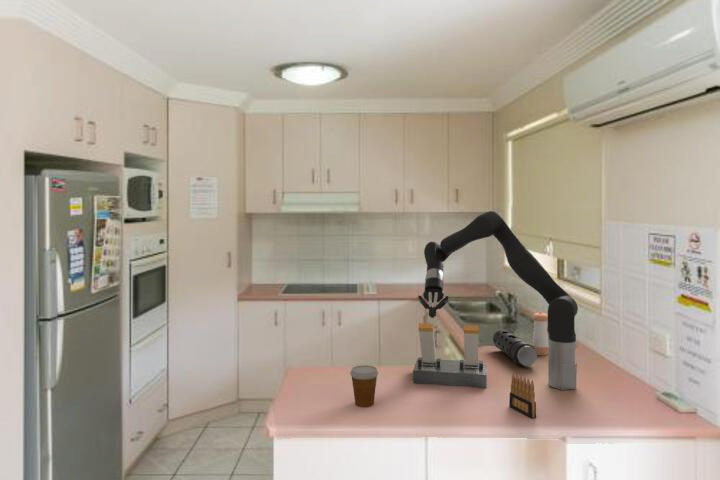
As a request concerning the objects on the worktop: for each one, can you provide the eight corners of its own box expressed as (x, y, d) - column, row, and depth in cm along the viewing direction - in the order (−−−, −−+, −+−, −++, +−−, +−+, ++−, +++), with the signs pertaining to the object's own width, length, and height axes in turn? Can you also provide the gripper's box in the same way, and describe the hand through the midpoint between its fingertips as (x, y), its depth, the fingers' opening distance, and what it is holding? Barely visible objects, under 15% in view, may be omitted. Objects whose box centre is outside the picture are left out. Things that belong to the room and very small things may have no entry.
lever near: (464, 363, 199) (463, 325, 183) (478, 363, 198) (478, 325, 182) (464, 367, 197) (463, 330, 181) (478, 368, 196) (478, 330, 180)
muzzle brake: (511, 350, 238) (512, 328, 237) (538, 369, 210) (539, 344, 210) (491, 351, 237) (492, 329, 236) (516, 370, 209) (516, 345, 209)
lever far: (422, 360, 202) (418, 323, 186) (436, 361, 201) (433, 323, 185) (422, 365, 201) (418, 327, 185) (435, 366, 200) (432, 328, 184)
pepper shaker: (528, 352, 235) (528, 310, 233) (539, 350, 238) (540, 309, 237) (540, 356, 228) (541, 313, 227) (552, 354, 231) (552, 312, 230)
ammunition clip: (536, 418, 162) (536, 380, 161) (531, 419, 161) (532, 381, 160) (513, 406, 172) (513, 370, 171) (509, 407, 171) (509, 371, 170)
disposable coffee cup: (349, 399, 179) (349, 365, 178) (377, 398, 179) (376, 364, 179) (351, 409, 169) (350, 374, 169) (379, 408, 170) (379, 373, 169)
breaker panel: (417, 370, 210) (417, 352, 209) (485, 374, 204) (485, 356, 204) (412, 383, 194) (412, 364, 194) (486, 388, 188) (486, 368, 188)
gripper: (450, 287, 217) (449, 322, 206) (419, 286, 220) (416, 321, 209) (450, 276, 212) (448, 312, 201) (417, 276, 215) (414, 310, 203)
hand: (432, 316), depth 205 cm, fingers closed
